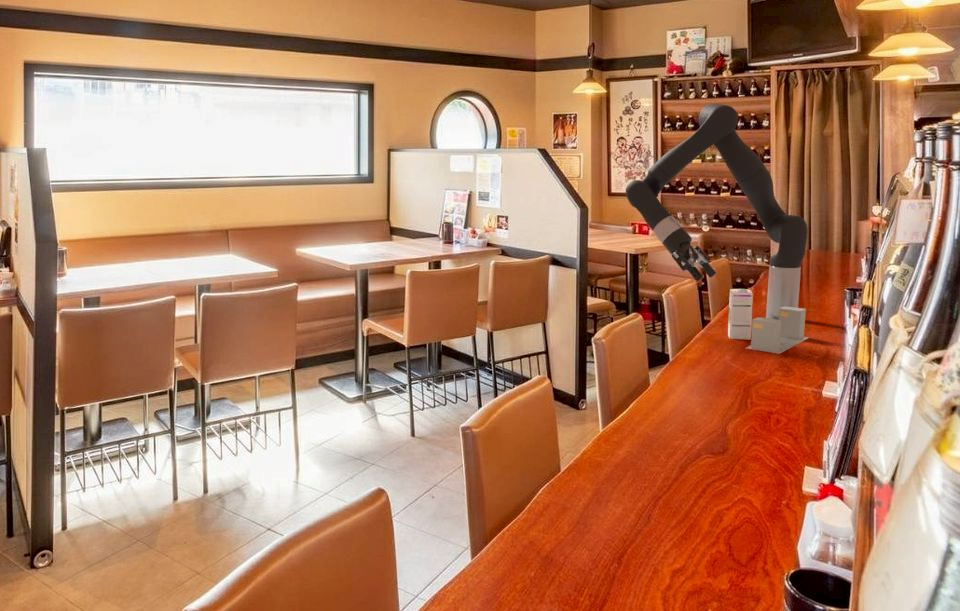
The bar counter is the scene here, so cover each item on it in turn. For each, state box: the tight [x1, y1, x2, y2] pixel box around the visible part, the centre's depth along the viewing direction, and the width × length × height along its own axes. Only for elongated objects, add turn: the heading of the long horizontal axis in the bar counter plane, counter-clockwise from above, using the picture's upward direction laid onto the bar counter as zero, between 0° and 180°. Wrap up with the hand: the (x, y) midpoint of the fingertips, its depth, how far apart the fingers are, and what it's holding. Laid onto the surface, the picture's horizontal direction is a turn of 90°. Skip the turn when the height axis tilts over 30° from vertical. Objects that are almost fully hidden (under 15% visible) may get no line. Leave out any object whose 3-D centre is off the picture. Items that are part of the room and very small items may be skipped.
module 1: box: [750, 316, 781, 354], centre depth 197 cm, size 4×6×8 cm
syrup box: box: [727, 288, 754, 340], centre depth 211 cm, size 6×6×14 cm
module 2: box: [778, 306, 807, 339], centre depth 211 cm, size 4×6×8 cm
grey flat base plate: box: [745, 336, 810, 355], centre depth 205 cm, size 23×9×1 cm, turn 138°
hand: (707, 277), depth 216 cm, fingers open, 8 cm apart
